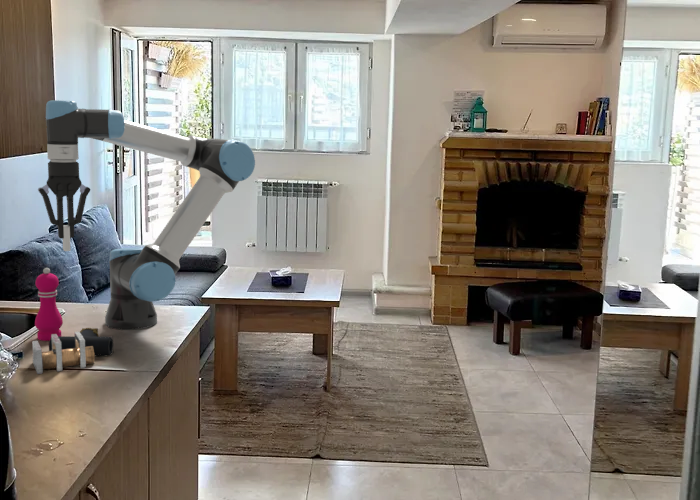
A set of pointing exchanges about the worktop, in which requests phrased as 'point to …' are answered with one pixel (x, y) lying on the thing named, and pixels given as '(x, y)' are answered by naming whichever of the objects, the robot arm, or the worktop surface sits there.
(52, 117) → the robot arm
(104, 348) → the pipe connector
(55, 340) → the grey slatted rack
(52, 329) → the pepper mill
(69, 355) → the tube
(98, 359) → the worktop surface
